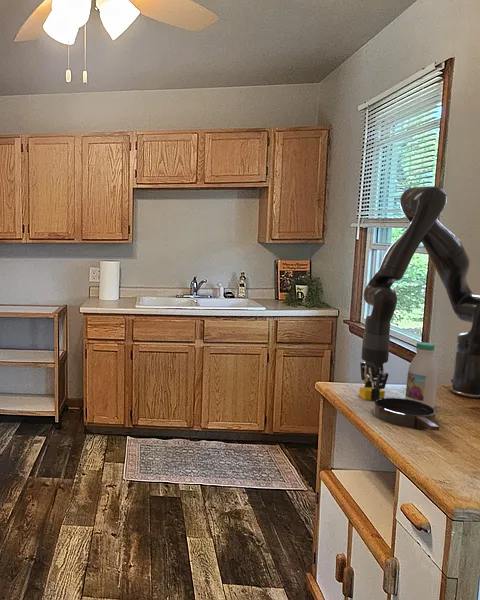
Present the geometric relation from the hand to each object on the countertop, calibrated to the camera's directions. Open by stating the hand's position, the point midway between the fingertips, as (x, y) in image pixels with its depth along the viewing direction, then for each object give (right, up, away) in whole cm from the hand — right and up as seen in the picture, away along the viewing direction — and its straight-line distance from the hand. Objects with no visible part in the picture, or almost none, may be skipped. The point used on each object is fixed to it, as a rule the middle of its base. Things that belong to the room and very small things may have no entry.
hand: (371, 397), depth 163 cm
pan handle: (-1, -4, -28) cm, 28 cm away
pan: (0, -3, -17) cm, 17 cm away
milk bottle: (+11, -1, -7) cm, 13 cm away
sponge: (0, 0, 0) cm, 0 cm away
